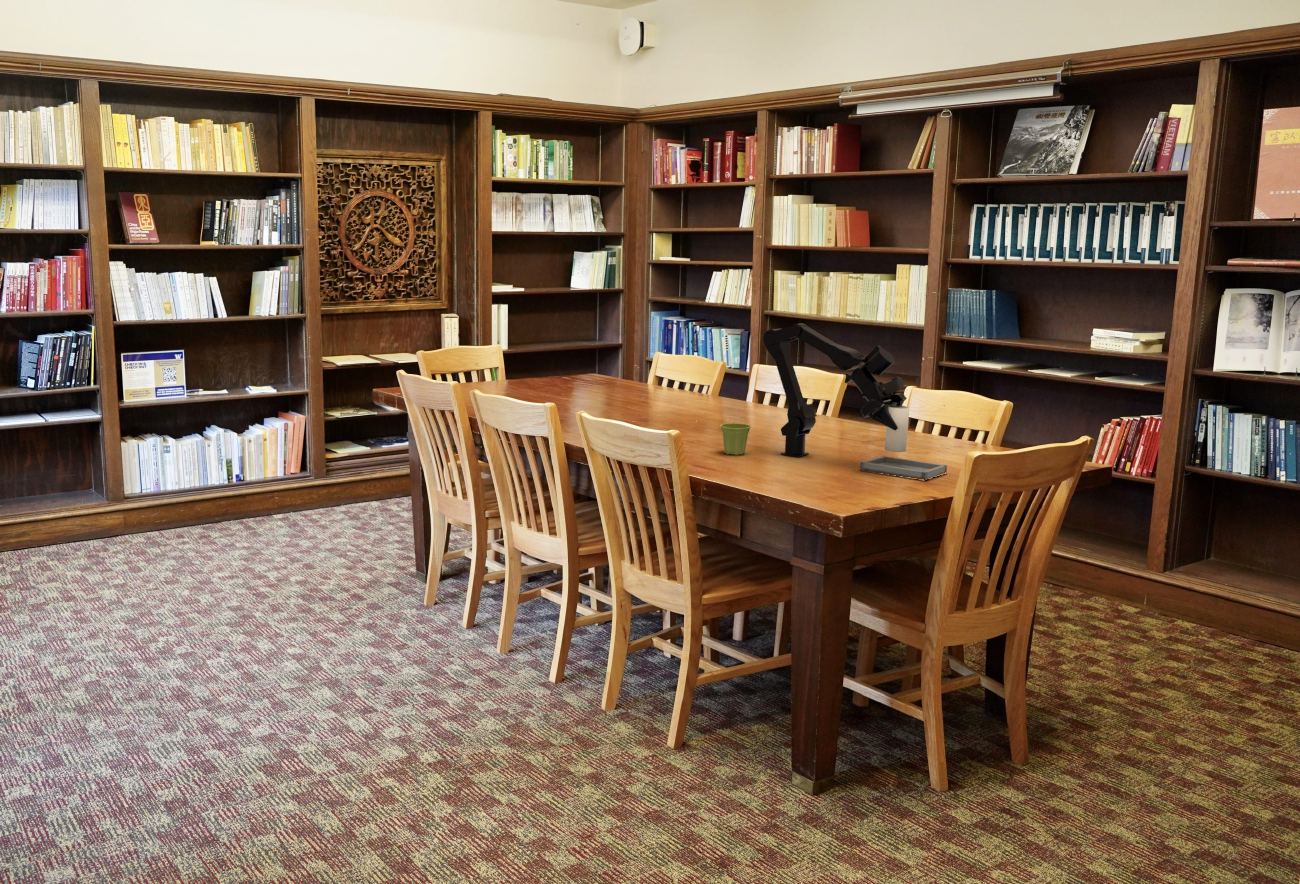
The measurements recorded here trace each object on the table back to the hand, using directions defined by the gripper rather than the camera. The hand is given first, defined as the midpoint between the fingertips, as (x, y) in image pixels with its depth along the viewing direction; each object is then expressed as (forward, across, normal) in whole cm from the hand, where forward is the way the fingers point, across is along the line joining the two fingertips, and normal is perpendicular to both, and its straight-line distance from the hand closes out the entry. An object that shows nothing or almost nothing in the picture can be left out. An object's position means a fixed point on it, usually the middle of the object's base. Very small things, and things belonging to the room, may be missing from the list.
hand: (901, 428), depth 318 cm
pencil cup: (+4, 0, +6) cm, 7 cm away
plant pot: (-25, -12, +43) cm, 51 cm away
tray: (+10, -1, +8) cm, 13 cm away
